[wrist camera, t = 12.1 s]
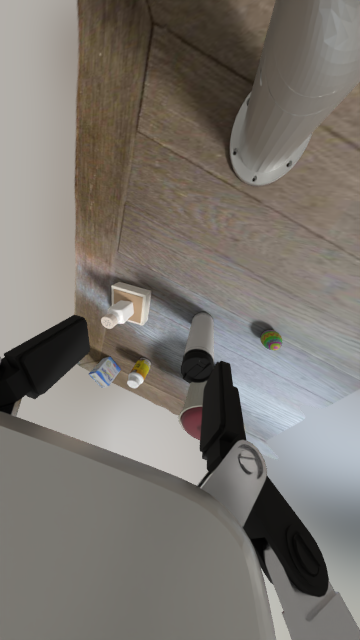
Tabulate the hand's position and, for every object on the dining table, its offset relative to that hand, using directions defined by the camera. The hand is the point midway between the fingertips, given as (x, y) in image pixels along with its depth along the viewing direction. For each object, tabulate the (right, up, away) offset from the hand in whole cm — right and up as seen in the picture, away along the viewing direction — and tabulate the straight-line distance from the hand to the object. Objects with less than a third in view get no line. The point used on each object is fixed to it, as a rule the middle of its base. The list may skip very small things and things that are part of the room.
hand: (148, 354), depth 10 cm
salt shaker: (-13, +6, +32) cm, 35 cm away
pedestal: (-12, +8, +36) cm, 38 cm away
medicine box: (-27, -16, +53) cm, 61 cm away
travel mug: (+9, +2, +35) cm, 36 cm away
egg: (+28, -2, +32) cm, 43 cm away
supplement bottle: (-12, -14, +48) cm, 52 cm away
